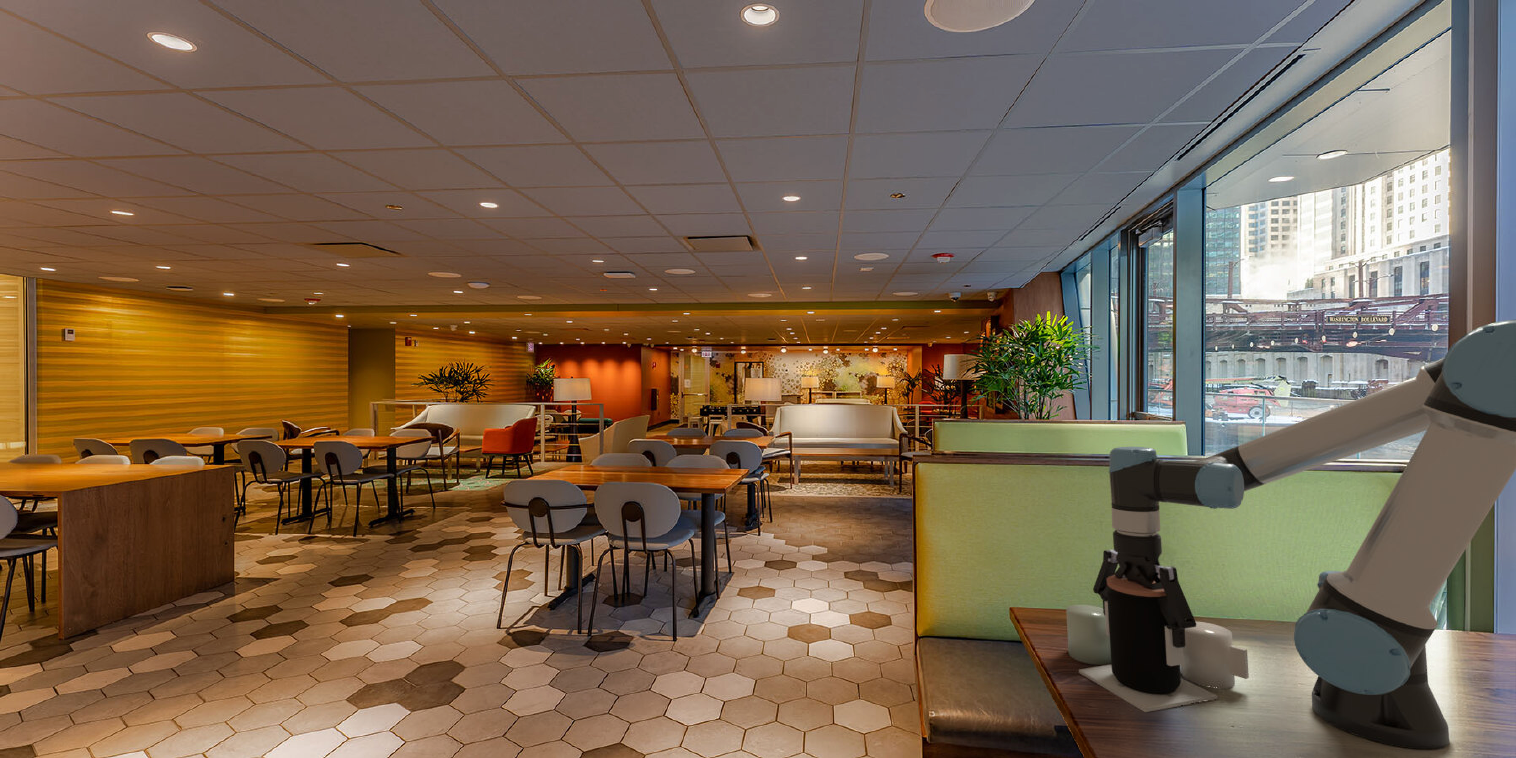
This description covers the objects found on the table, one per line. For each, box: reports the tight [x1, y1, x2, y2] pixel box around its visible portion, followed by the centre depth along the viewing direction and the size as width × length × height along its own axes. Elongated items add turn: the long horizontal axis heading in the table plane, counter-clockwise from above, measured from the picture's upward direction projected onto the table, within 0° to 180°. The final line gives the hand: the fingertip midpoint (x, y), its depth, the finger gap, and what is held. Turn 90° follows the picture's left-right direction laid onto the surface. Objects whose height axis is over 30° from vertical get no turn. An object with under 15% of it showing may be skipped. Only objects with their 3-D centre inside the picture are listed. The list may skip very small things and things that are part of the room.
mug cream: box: [1180, 620, 1250, 689], centre depth 111 cm, size 10×8×9 cm
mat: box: [1078, 664, 1218, 713], centre depth 110 cm, size 15×15×1 cm
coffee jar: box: [1107, 575, 1182, 694], centre depth 110 cm, size 11×11×18 cm
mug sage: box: [1065, 604, 1111, 666], centre depth 122 cm, size 10×8×9 cm
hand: (1142, 648), depth 110 cm, fingers open, 13 cm apart
